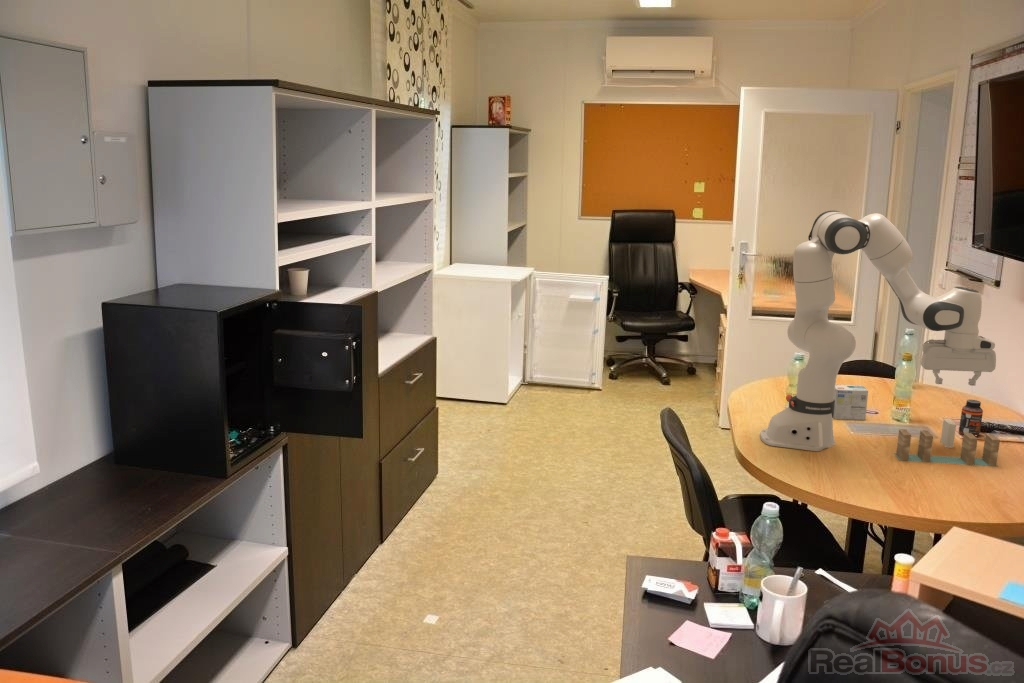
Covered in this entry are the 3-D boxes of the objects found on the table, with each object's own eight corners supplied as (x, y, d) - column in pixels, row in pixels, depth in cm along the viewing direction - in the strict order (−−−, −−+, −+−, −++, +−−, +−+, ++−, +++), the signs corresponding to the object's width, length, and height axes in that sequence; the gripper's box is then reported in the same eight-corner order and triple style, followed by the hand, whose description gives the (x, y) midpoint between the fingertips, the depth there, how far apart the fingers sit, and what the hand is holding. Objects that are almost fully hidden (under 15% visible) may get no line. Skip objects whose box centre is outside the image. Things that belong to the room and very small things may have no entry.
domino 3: (945, 448, 249) (949, 424, 247) (940, 443, 254) (943, 418, 252) (952, 449, 249) (956, 424, 247) (947, 443, 254) (950, 419, 252)
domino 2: (922, 461, 237) (925, 435, 235) (917, 455, 242) (920, 430, 240) (929, 462, 237) (933, 436, 235) (924, 455, 242) (927, 430, 240)
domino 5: (988, 465, 234) (992, 439, 233) (982, 459, 239) (985, 433, 237) (996, 466, 234) (1000, 439, 232) (989, 459, 239) (993, 434, 237)
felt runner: (899, 461, 238) (899, 460, 238) (893, 454, 244) (893, 453, 244) (998, 467, 234) (998, 466, 234) (990, 460, 240) (990, 459, 239)
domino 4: (966, 464, 235) (970, 438, 234) (960, 458, 240) (963, 432, 238) (973, 464, 235) (977, 438, 233) (967, 458, 240) (971, 433, 238)
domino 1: (900, 460, 238) (904, 434, 236) (896, 454, 243) (899, 429, 241) (908, 460, 238) (911, 435, 236) (903, 454, 243) (906, 429, 241)
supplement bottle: (968, 438, 258) (973, 404, 256) (954, 432, 264) (958, 399, 261) (983, 436, 260) (988, 403, 257) (969, 430, 266) (973, 397, 263)
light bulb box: (859, 414, 282) (862, 384, 280) (866, 420, 275) (869, 390, 273) (828, 413, 283) (831, 383, 281) (833, 419, 276) (836, 389, 274)
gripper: (927, 341, 242) (922, 385, 245) (1001, 343, 239) (994, 388, 242) (920, 336, 248) (915, 380, 252) (992, 339, 245) (986, 382, 248)
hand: (955, 384), depth 247 cm, fingers open, 8 cm apart
